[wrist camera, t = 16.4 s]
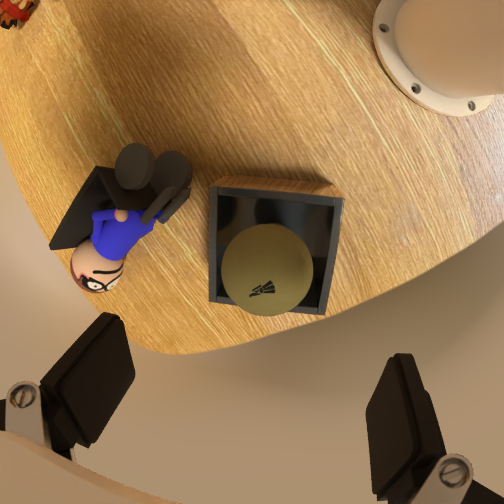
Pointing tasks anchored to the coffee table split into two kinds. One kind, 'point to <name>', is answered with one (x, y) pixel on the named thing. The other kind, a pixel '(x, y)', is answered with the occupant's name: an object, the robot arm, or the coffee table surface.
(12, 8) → the toy
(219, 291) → the open box
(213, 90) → the coffee table surface
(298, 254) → the light bulb
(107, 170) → the character figurine
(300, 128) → the coffee table surface
